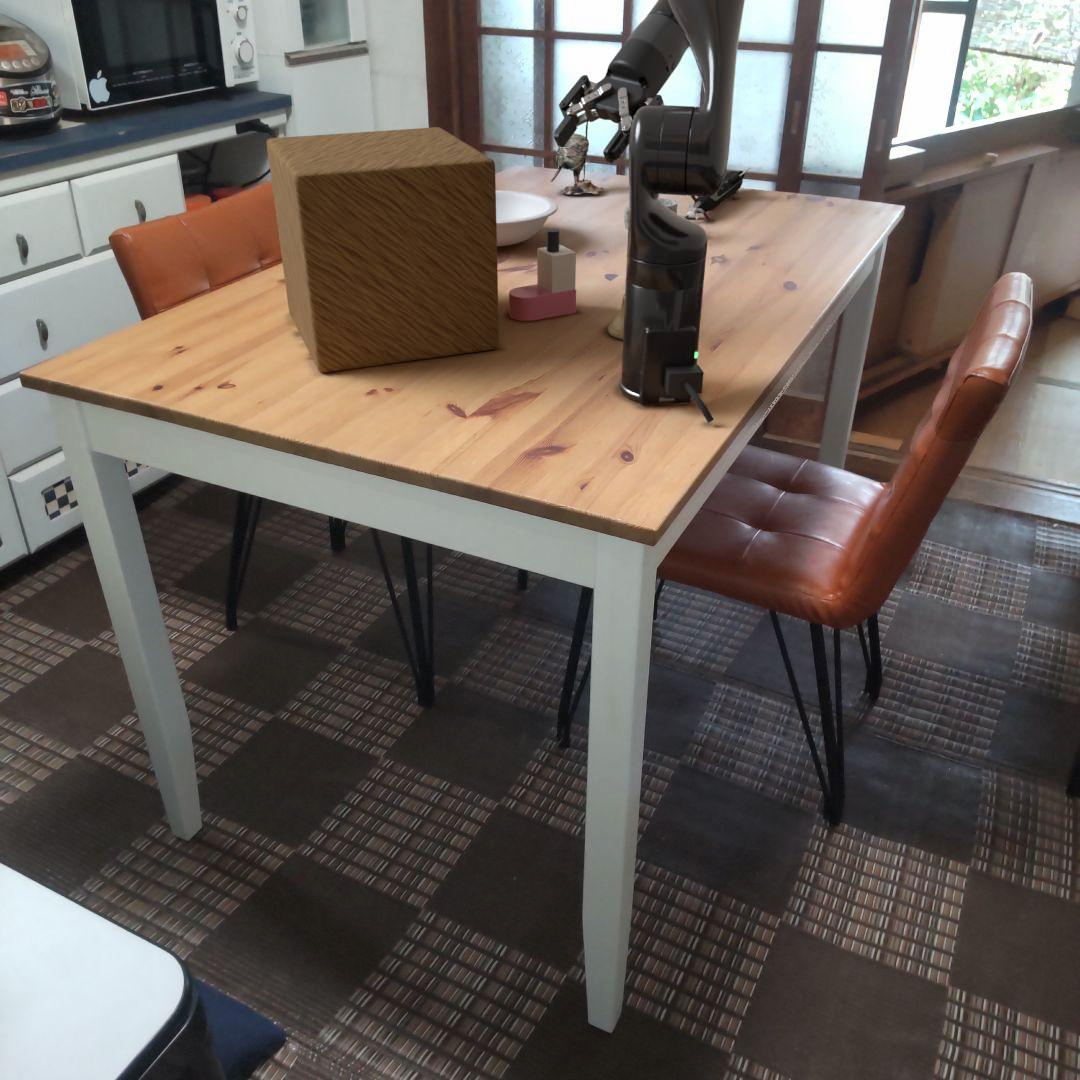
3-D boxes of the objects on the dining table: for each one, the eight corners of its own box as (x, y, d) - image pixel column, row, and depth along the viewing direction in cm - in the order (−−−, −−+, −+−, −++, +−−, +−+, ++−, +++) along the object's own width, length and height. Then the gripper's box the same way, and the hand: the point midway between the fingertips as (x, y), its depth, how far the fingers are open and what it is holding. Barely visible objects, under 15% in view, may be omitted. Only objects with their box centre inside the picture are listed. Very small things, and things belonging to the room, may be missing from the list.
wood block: (288, 314, 151) (264, 137, 138) (449, 295, 159) (441, 125, 146) (318, 375, 132) (294, 175, 118) (500, 350, 139) (496, 159, 126)
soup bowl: (399, 241, 185) (396, 204, 182) (500, 218, 199) (499, 183, 195) (481, 270, 170) (480, 230, 167) (584, 244, 184) (585, 206, 180)
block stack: (559, 302, 156) (560, 223, 150) (576, 312, 152) (577, 232, 146) (503, 312, 152) (501, 232, 146) (519, 323, 148) (518, 240, 142)
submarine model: (689, 236, 197) (730, 205, 191) (669, 207, 196) (710, 175, 190) (732, 201, 221) (769, 172, 215) (714, 175, 220) (751, 146, 214)
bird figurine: (561, 186, 223) (562, 87, 212) (608, 191, 218) (612, 91, 208) (545, 194, 216) (545, 92, 206) (594, 199, 212) (596, 96, 202)
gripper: (598, 27, 138) (532, 117, 136) (684, 47, 131) (616, 143, 129) (614, 70, 144) (551, 157, 142) (697, 91, 137) (631, 183, 135)
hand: (582, 150), depth 135 cm, fingers open, 8 cm apart
